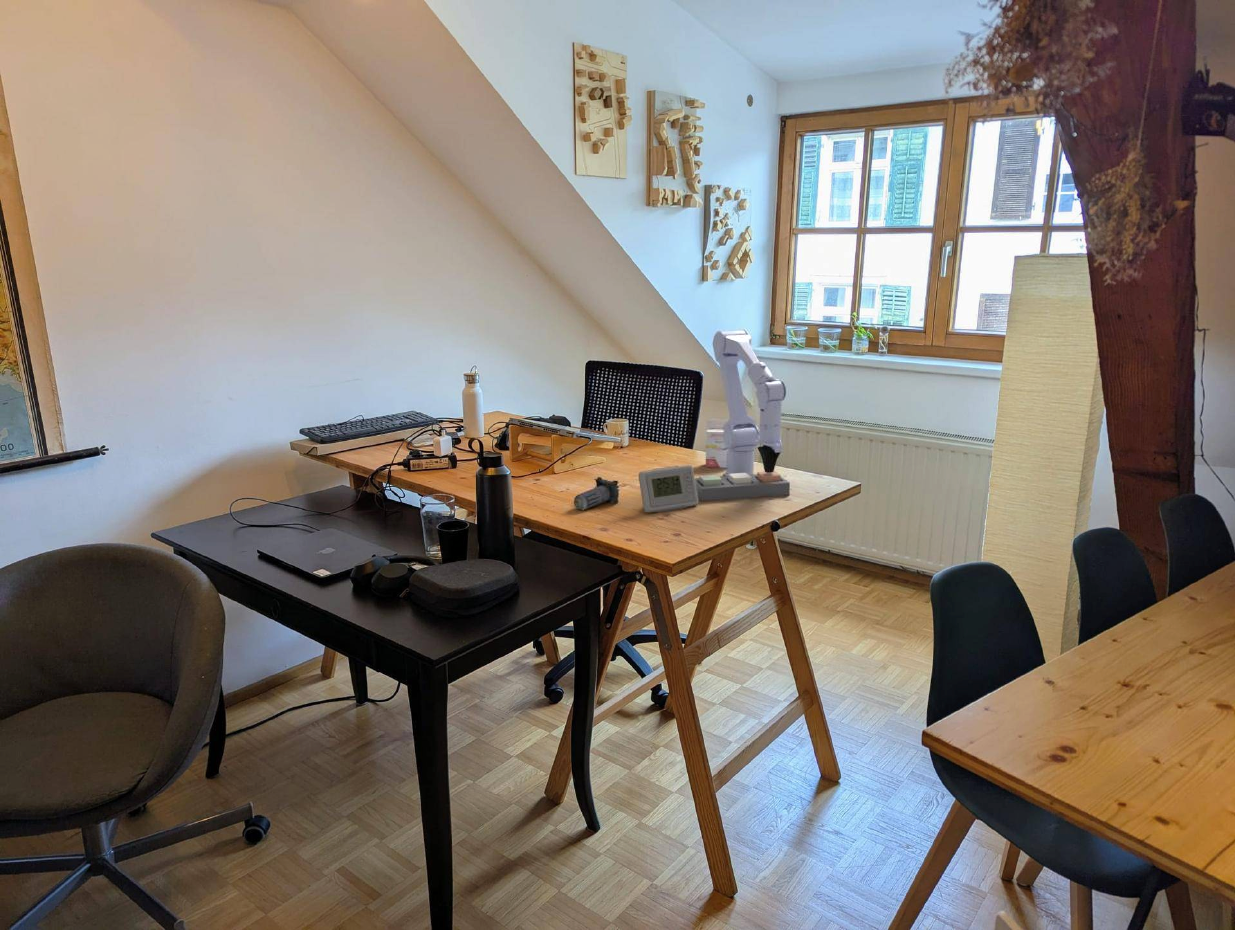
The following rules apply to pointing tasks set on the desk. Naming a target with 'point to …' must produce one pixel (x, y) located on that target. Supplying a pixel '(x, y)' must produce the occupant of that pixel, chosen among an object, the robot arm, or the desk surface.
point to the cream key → (739, 478)
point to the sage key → (710, 480)
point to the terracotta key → (768, 476)
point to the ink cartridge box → (715, 445)
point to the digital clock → (668, 488)
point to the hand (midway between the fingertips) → (769, 472)
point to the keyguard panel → (742, 489)
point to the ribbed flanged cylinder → (598, 494)
